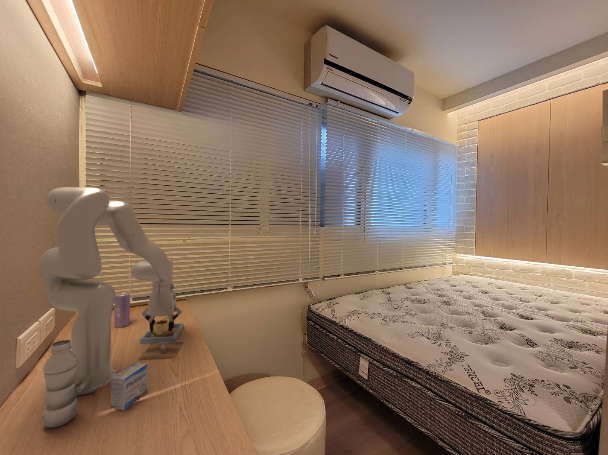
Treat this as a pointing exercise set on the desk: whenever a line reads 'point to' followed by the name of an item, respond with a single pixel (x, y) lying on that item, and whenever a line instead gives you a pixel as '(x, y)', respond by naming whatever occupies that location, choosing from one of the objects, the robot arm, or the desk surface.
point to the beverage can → (122, 310)
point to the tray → (146, 340)
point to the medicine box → (128, 386)
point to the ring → (161, 327)
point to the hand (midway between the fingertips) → (161, 329)
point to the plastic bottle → (60, 385)
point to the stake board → (157, 350)
